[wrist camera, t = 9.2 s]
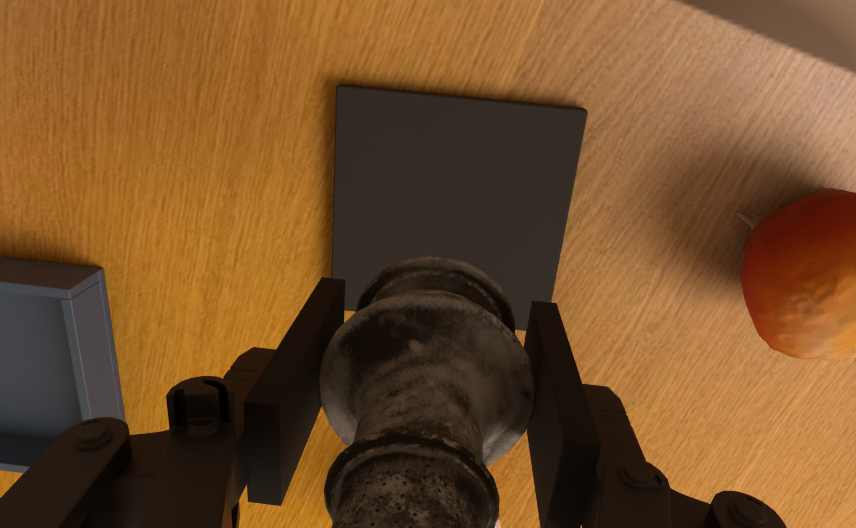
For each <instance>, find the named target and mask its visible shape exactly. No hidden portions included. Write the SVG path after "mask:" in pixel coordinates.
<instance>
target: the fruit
mask: <svg viewBox="0 0 856 528" xmlns="http://www.w3.org/2000/svg"><path fill="white" fill-rule="evenodd" d="M735 214H736V215H737V216H739V217H740V218H741V219H742V220H744V221H745V222H746V223H747V224H749V226H750V228H751V233H750V234H749V236H748V238H747V239H746V241H745V243H744V256H743V260H742V272H741V280H742V287H743V294H744V299H745V302H746V305H747V308H748V311H749V314H750V316H751V318H752V320H753V323H754V325H755V328H756V330H757V332H758V334H759V336H760V337H761V338H762V339H763V340H765V341H766V342H767V344H768V345H769V346H770V347H771V348H772V349H773V350H776V351H779V352H781V353H784V354H786V355H788V356H790V357H794V358H798V359H818V360H826V361H832V360H836V359H843V358H848V357H856V193H854V192H848V191H844V190H837V189H832V188H831V189H828V188H822V187H821V186H820V185H819V191H818V192H815V193H812V194H810V195H807V196H805V197H804V198H802V199H800V200H798V201H796V202H794V203H793V204H790V205H788V206H786V207H783V208H781V209H778V210H776V211H773V212H770V213H768V214H764V215H759V216H756V217H747V216H745V215H744V214H742V213H740V212H738V214H737V213H735Z"/></svg>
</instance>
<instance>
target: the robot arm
mask: <svg viewBox="0 0 856 528" xmlns="http://www.w3.org/2000/svg"><path fill="white" fill-rule="evenodd" d="M344 308H345V280H343V279H334V278H325V277H322V278H321V279H320V281H319V282H318V284H317V286H316V287H315V289H314V290H313V292H312V294H311V295H310V297H309V298H308V300H307V302H306V303H305V305H304V306H303V308H302V310H301V311H300V313H299V314H298V316H297V317H296V319H295V321H294V322H293V324H292V325H291V327H290V329H289V330H288V332H287V333H286V335H285V337H284V338H283V340H282V341H281V343H280V345H279V346H278V348H277V349H276V350H274V349H266V348H257V347H253V348H251V349H250V350H248V351H246V352H245V353H243V354H242V355H240V356H239V357H238V358H237V359H236V361H235V362H234V363H233V365H232V366H231V367H230V370H228V372H227V373H226V374H225V376H224V378H223V379H222V378H219V377H215V376H201V377H194V378H190V379H187V380H185V381H182V382H180V383H178V384H177V385H175V386H174V387H172V388H171V389H170V391H169V392H168V394H167V395H166V399H167V409H168V418H169V427H170V428H169V430H166V431H161V432H155V433H146V434H136V435H130V434H129V429H128V425H127V424H126V423H125V422H124V421H122V420H121V419H117V418H112V417H99V418H93V419H89V420H85V421H82V422H80V423H78V424H76V425H74V426H71V427H70V428H68V429H67V430H66V431H65V432H63V433H62V434H61V435H60V436H59V437H58V438H57V439H56V440H55V441H54V442H53V443H52V444H51V445H50V446H49V447H48V448H47V449H46V450H45V452H44V453H43V454H42V455H41V456H40V457H39V458H38V459H37V460H36V461H35V462H34V463H33V464H32V465H31V466H30V467H29V469H28V470H27V471H26V472H25V473H24V474H23V475H22V476H21V477H20V478H19V479H18V480H17V481H16V482H15V483H14V484H13V485H12V487H11V488H10V489H9V490H8V491H7V492H6V493H5V494H4V495H3V496H2V497H1V498H0V528H239V518H240V508H239V499H240V497H241V495H242V493H243V491H244V489H245V487H246V485H247V493H248V502H254V503H262V504H270V505H278V506H281V504H282V502H283V500H284V497H285V495H286V492H287V490H288V487H289V485H290V482H291V480H292V477H293V475H294V473H295V470H296V468H297V465H298V463H299V460H300V458H301V455H302V453H303V451H304V448H305V446H306V443H307V441H308V438H309V436H310V433H311V431H312V428H313V426H314V424H315V421H316V419H317V416H318V414H319V411H320V409H321V406H322V405H321V402H320V394H319V371H320V366H321V361H322V356H323V353H324V351H325V349H326V348H327V346H328V344H329V342H330V341H331V339H332V337H333V335H334V334H335V332H336V330H337V329H339V328H340V327H341V326H342V325H343V324H344ZM524 350H525V351H526V353H527V355H528V357H529V358H530V362H531V366H532V370H533V374H534V378H535V383H536V392H535V405H534V411H533V414H532V416H531V419H530V421H529V423H528V426H527V435H528V442H529V449H530V456H531V463H532V470H533V477H534V485H535V492H536V499H537V506H538V513H539V520H540V527H541V528H580V527H581V525H582V528H787V527H786V525H785V524H784V522H783V521H782V519H781V518H780V517H779V516H778V514H777V513H776V512H775V511H774V510H773V509H771V508H770V507H769V506H768V505H766V504H765V503H764V502H762V501H760V500H758V499H756V498H754V497H752V496H750V495H748V494H744V493H741V492H737V491H722V492H720V493H717V494H715V496H714V498H713V500H712V502H711V504H709V503H706V502H703V501H700V500H697V499H694V498H692V497H689V496H686V495H683V494H681V493H679V492H676V491H675V490H673V489H671V488H670V486H669V483H668V479H667V478H666V477H665V476H664V475H663V473H662V472H661V471H660V470H659V469H657V468H656V467H655V466H653V465H652V464H650V463H648V462H646V460H645V457H644V455H643V453H642V450H641V448H640V445H639V443H638V441H637V438H636V436H635V433H634V431H633V428H632V426H630V421H629V419H628V416H627V415H626V412H625V409H624V407H623V404H622V402H621V400H620V398H619V397H618V396H617V395H616V394H615V393H614V392H613V391H612V390H611V389H609V388H608V387H605V386H597V385H588V384H582V382H581V378H580V375H579V372H578V369H577V366H576V363H575V360H574V357H573V354H572V351H571V347H570V344H569V341H568V338H567V335H566V332H565V329H564V326H563V323H562V320H561V316H560V313H559V310H558V307H557V304H556V303H550V302H541V301H532V303H531V309H530V314H529V320H528V326H527V331H526V337H525V343H524Z"/></svg>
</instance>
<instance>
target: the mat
mask: <svg viewBox="0 0 856 528" xmlns="http://www.w3.org/2000/svg"><path fill="white" fill-rule="evenodd" d="M587 113H588V111H587V110H586V109H584V108H575V107H565V106H555V105H545V104H535V103H525V102H515V101H505V100H495V99H485V98H475V97H465V96H454V95H444V94H434V93H424V92H414V91H404V90H394V89H384V88H374V87H364V86H354V85H344V84H340V85H337V86H336V117H335V157H334V198H333V238H332V278H334V279H343V280H345V308H344V310H347V311H356V308H357V304H358V301H359V299H360V297H361V296H362V294H363V292H364V291H365V289H366V287H367V285H368V284H369V283H370V282H371V281H372V280H373V279H374V278H375V277H376V276H377V275H378V274H379V273H380V272H381V271H382V270H384V269H386V268H388V267H390V266H392V265H393V264H395V263H397V262H399V261H401V260H405V259H409V258H413V257H418V256H422V255H429V256H447V257H451V258H455V259H459V260H462V261H466V262H468V263H470V264H471V265H473V266H475V267H477V268H479V269H480V270H482V271H484V272H485V273H486V274H487V275H489V276H490V277H491V278H492V279H493V280H494V281H495V282H496V283H497V284H498V285H499V286H500V287H501V289H502V291H503V292H504V294H505V296H506V298H507V299H508V301H509V303H510V305H511V309H512V313H513V317H514V321H515V330H524V331H527V326H528V320H529V314H530V309H531V303H532V301H541V302H550V303H551V300H552V295H553V290H554V285H555V279H556V274H557V269H558V264H559V259H560V253H561V248H562V243H563V238H564V233H565V227H566V222H567V217H568V212H569V207H570V201H571V196H572V191H573V186H574V181H575V175H576V170H577V165H578V160H579V155H580V150H581V144H582V139H583V134H584V129H585V124H586V118H587Z"/></svg>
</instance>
